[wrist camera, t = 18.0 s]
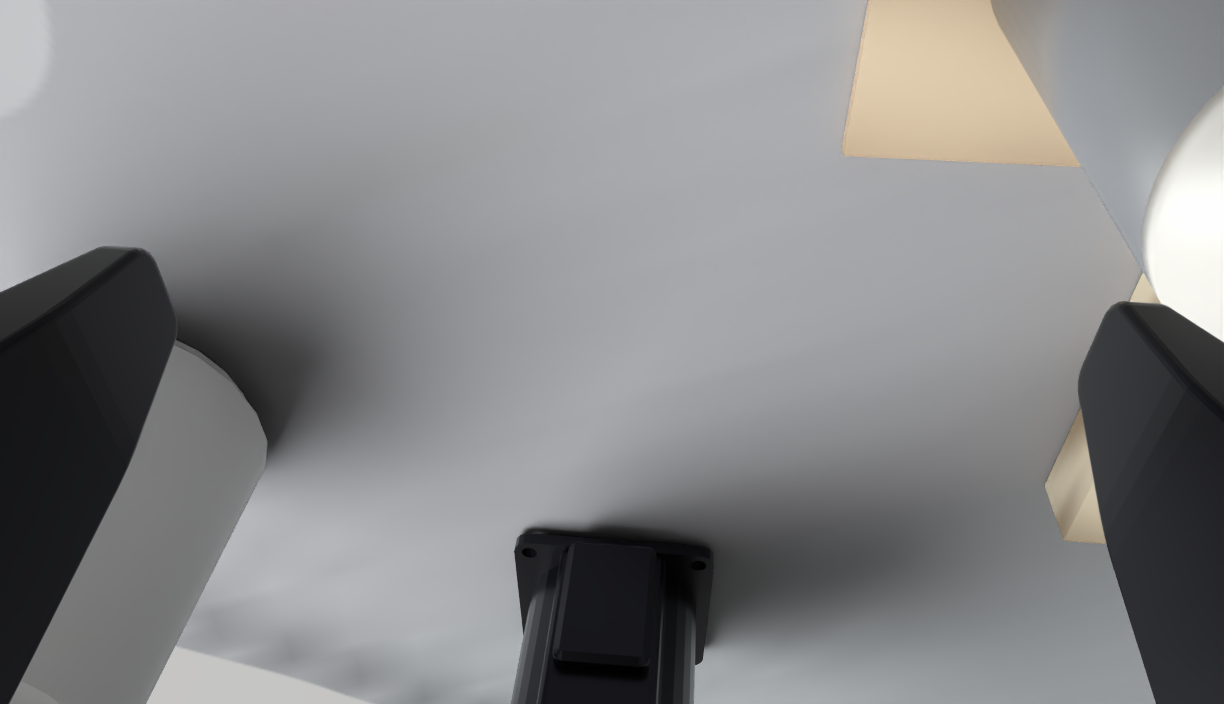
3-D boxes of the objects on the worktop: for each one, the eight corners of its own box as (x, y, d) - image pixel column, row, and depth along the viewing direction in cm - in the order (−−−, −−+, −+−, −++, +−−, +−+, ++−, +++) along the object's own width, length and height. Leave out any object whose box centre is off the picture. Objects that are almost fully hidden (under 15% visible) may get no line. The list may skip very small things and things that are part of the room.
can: (316, 476, 30) (136, 880, 21) (112, 489, 31) (-141, 872, 22) (210, 290, 25) (-84, 708, 16) (-26, 315, 26) (-418, 711, 17)
